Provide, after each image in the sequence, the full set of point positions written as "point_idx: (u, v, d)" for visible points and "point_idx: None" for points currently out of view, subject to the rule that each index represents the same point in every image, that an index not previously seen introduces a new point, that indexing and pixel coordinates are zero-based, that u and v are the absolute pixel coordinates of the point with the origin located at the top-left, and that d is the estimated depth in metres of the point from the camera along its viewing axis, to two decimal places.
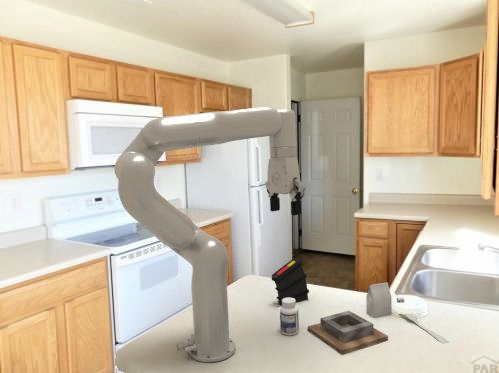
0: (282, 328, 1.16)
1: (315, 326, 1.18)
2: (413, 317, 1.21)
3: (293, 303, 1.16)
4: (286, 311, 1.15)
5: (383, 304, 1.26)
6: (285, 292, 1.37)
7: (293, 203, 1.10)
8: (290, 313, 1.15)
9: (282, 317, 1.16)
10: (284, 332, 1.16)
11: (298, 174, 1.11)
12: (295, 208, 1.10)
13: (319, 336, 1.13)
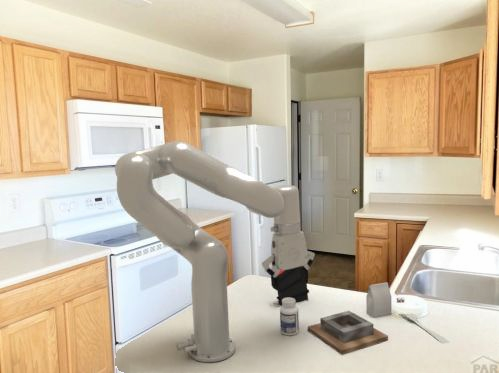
0: (282, 328, 1.16)
1: (315, 326, 1.18)
2: (414, 317, 1.21)
3: (293, 303, 1.16)
4: (286, 311, 1.15)
5: (383, 304, 1.26)
6: (285, 292, 1.37)
7: None
8: (290, 313, 1.15)
9: (282, 317, 1.16)
10: (284, 332, 1.16)
11: None
12: None
13: (319, 336, 1.13)
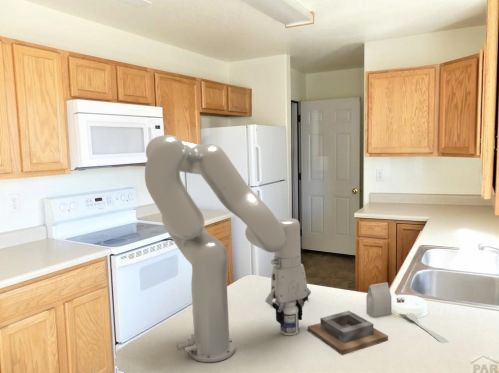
0: (282, 328, 1.16)
1: (315, 326, 1.18)
2: (413, 317, 1.21)
3: (293, 303, 1.16)
4: (287, 311, 1.15)
5: (383, 304, 1.26)
6: None
7: None
8: (290, 313, 1.15)
9: None
10: (284, 332, 1.16)
11: None
12: None
13: (319, 336, 1.13)
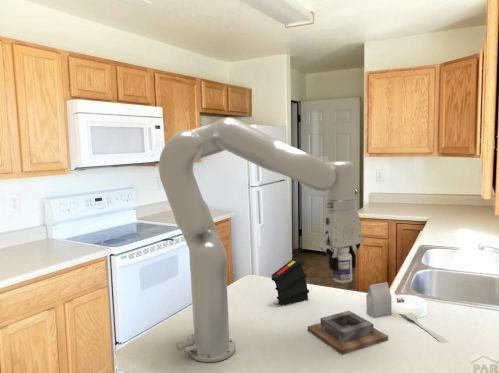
0: (335, 275, 1.12)
1: (315, 326, 1.18)
2: (413, 317, 1.21)
3: (347, 249, 1.11)
4: (341, 257, 1.10)
5: (383, 304, 1.26)
6: (285, 292, 1.37)
7: None
8: (345, 258, 1.10)
9: None
10: (338, 279, 1.11)
11: None
12: None
13: (319, 336, 1.13)
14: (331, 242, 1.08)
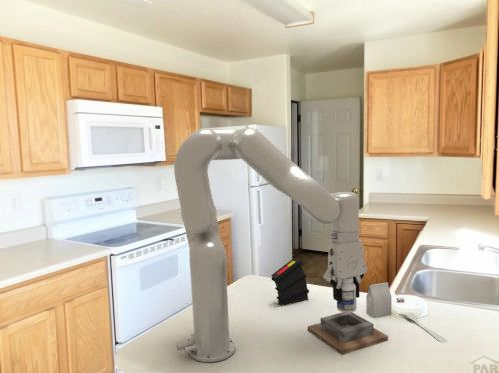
0: (339, 305, 1.12)
1: (315, 326, 1.18)
2: (414, 317, 1.21)
3: (351, 279, 1.11)
4: (345, 288, 1.11)
5: (383, 304, 1.26)
6: (285, 292, 1.37)
7: None
8: (349, 289, 1.11)
9: None
10: (342, 309, 1.12)
11: None
12: None
13: (319, 336, 1.13)
14: (335, 273, 1.09)
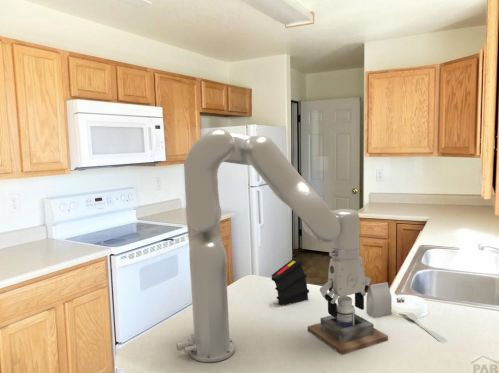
0: None
1: (315, 326, 1.18)
2: (413, 317, 1.22)
3: (350, 302, 1.12)
4: (343, 310, 1.11)
5: (383, 304, 1.26)
6: (285, 292, 1.37)
7: None
8: (348, 311, 1.11)
9: (338, 316, 1.12)
10: None
11: None
12: None
13: (319, 336, 1.13)
14: (335, 290, 1.09)
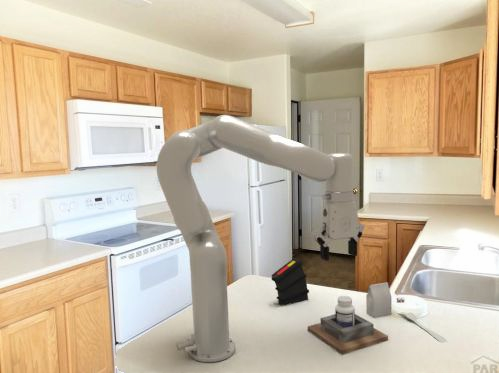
0: None
1: (315, 326, 1.18)
2: (413, 317, 1.22)
3: (350, 302, 1.12)
4: (343, 310, 1.11)
5: (383, 304, 1.26)
6: (285, 292, 1.37)
7: None
8: (348, 311, 1.11)
9: (338, 316, 1.12)
10: None
11: None
12: None
13: (319, 336, 1.13)
14: (328, 233, 1.08)
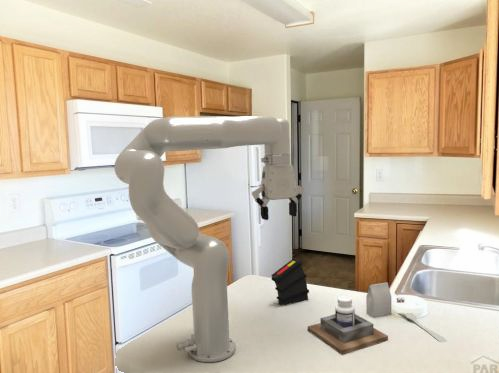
0: None
1: (315, 326, 1.18)
2: (413, 317, 1.22)
3: (350, 302, 1.12)
4: (343, 310, 1.11)
5: (383, 304, 1.26)
6: (285, 292, 1.37)
7: None
8: (348, 311, 1.11)
9: (338, 316, 1.12)
10: None
11: None
12: (295, 209, 1.22)
13: (319, 336, 1.13)
14: (266, 194, 1.16)
